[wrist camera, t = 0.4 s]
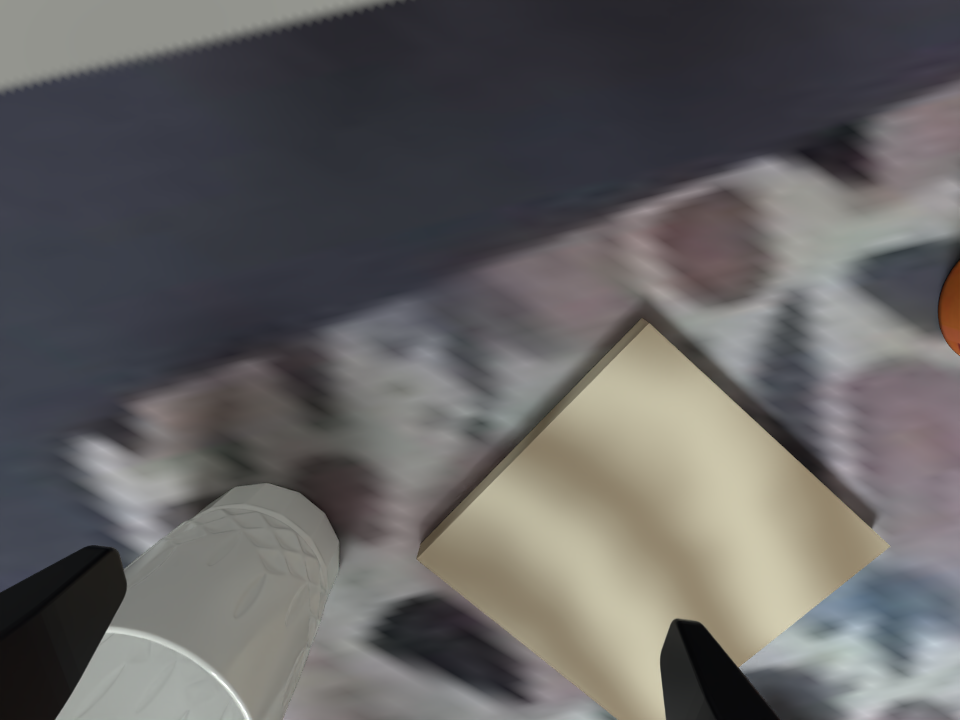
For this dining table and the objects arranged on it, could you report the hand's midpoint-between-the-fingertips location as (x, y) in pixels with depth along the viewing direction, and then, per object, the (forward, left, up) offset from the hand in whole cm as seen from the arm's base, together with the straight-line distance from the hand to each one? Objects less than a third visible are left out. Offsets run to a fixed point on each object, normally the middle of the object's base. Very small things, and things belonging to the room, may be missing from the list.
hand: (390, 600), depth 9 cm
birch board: (-1, -11, -15) cm, 18 cm away
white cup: (-13, +1, -15) cm, 20 cm away
